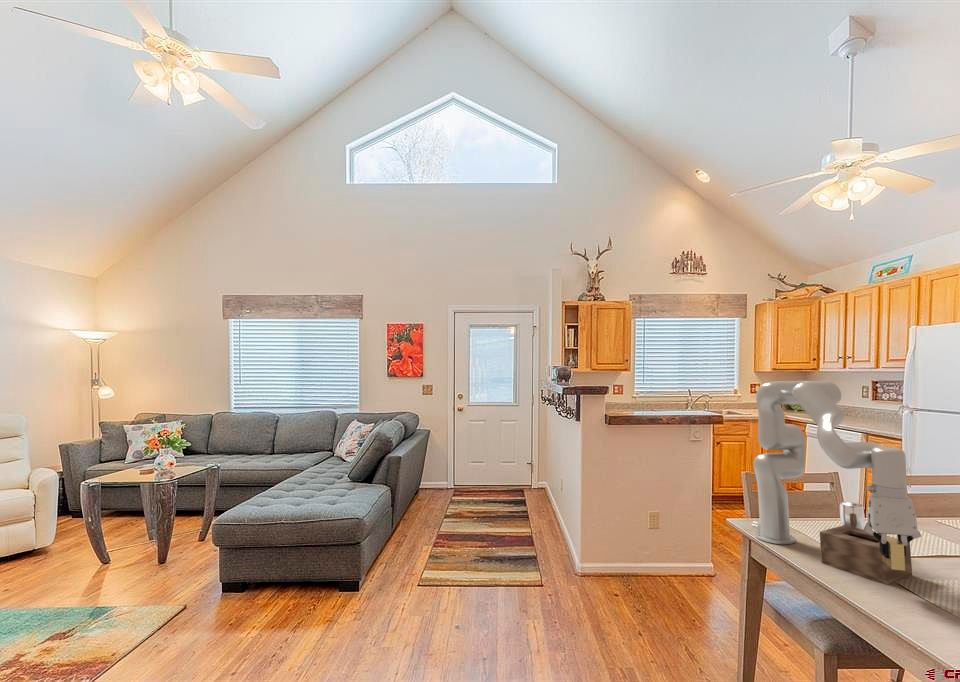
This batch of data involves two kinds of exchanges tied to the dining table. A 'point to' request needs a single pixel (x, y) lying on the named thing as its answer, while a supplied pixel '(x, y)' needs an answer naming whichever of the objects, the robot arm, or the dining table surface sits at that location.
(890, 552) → the block
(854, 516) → the beer glass
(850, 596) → the dining table surface
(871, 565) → the coin box
